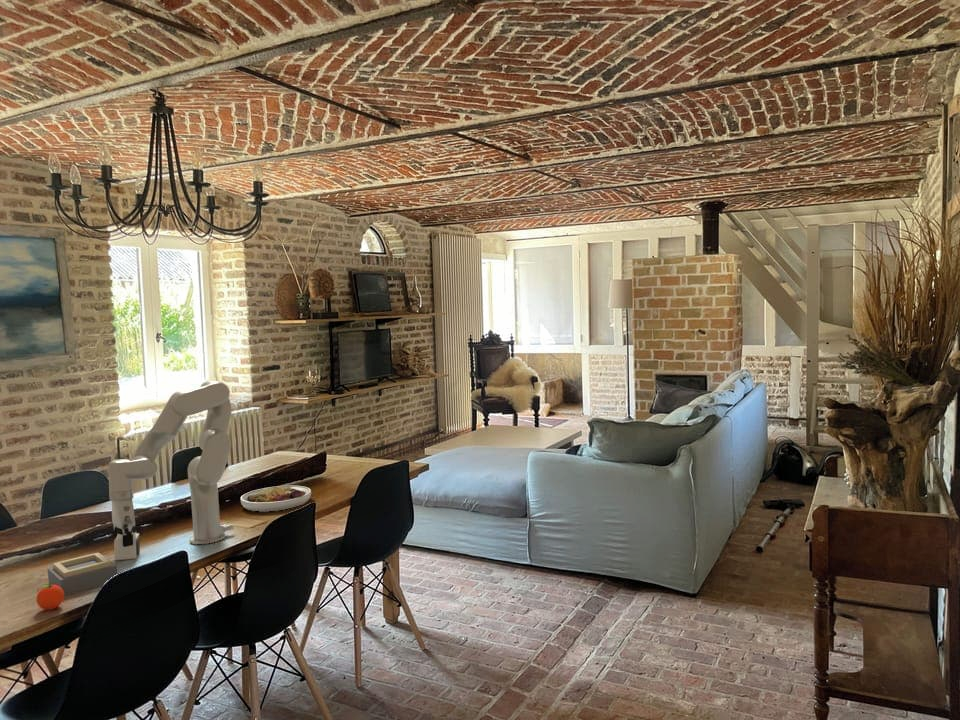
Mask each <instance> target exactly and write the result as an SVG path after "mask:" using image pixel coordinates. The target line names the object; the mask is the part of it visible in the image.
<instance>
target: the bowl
mask: <svg viewBox="0 0 960 720" xmlns="http://www.w3.org/2000/svg"><path fill="white" fill-rule="evenodd" d="M311 494H312V490H311V488H309V487H307V486H303V485H302V486H301V485H283V484H282V485H277V486H271V487H270V486H269V487H264V488H259V489H255V490H251V491H249V492H247V493H244V494H243V495H241V496H240V503H241V505H242V506H243V508H244V509H246V510H248V511H250V510H251V512H255V511H259V512H258V513H270V512H269V511H275V512H280V511H279V510H283V511H285V510H284V509H288V508H292V509H294V508H293V507H296V506H298V507H301V506H303V505H304V504H306V503H307V502H308V501H309V500H310V498H311ZM300 505H301V506H300ZM296 508H297V507H296ZM288 510H289V509H288Z"/></svg>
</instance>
